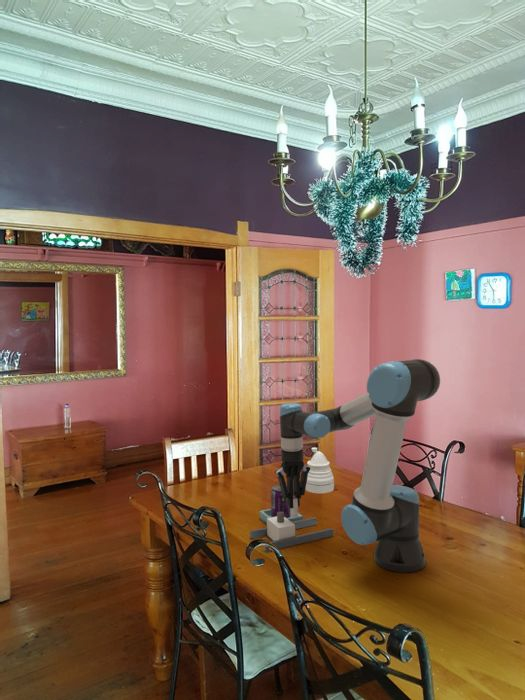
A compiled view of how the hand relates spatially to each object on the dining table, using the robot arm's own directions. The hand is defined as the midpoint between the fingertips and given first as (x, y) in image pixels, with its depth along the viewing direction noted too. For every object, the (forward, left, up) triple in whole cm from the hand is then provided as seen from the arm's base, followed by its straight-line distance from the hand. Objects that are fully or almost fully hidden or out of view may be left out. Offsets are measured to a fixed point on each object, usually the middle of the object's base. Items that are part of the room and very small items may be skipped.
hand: (294, 516), depth 176 cm
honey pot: (+40, -34, -8) cm, 53 cm away
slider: (+1, +5, -7) cm, 9 cm away
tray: (+15, -2, -7) cm, 17 cm away
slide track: (+1, +1, -7) cm, 7 cm away
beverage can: (+15, -2, -7) cm, 16 cm away
